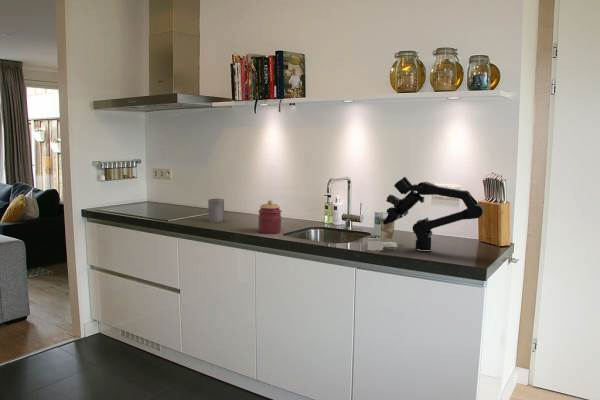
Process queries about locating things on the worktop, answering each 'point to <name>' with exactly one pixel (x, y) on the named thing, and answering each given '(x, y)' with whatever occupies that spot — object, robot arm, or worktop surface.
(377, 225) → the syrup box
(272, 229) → the canister
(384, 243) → the display pad
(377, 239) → the screen
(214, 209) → the pillar candle
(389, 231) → the oak block
